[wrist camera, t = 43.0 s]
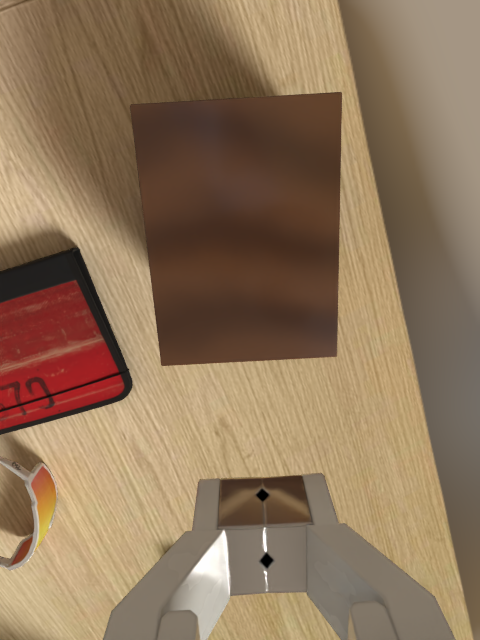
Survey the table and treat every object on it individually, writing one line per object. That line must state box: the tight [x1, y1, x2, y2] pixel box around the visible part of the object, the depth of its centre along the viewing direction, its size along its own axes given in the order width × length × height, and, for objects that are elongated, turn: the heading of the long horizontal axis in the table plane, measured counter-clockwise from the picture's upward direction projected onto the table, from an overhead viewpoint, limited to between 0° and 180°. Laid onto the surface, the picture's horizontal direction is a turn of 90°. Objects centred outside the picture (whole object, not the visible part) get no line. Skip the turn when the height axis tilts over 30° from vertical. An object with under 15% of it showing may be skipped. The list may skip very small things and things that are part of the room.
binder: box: [0, 247, 132, 435], centre depth 41 cm, size 16×2×21 cm
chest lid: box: [130, 92, 342, 366], centre depth 25 cm, size 16×12×1 cm
